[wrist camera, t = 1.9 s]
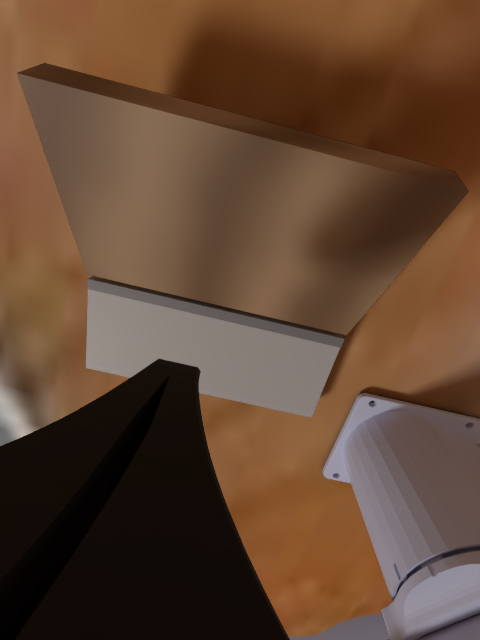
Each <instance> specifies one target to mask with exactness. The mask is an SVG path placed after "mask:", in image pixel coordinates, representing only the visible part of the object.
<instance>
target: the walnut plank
mask: <svg viewBox="0 0 480 640" xmlns="http://www.w3.org/2000/svg"><path fill="white" fill-rule="evenodd" d="M17 75H18V78H19V81H20V84H21V87H22V90H23V92H24V95H25V98H26V101H27V104H28V107H29V110H30V112H31V115H32V118H33V121H34V124H35V127H36V130H37V133H38V135H39V138H40V141H41V144H42V147H43V150H44V153H45V155H46V158H47V161H48V164H49V167H50V170H51V173H52V175H53V178H54V181H55V184H56V187H57V190H58V193H59V195H60V198H61V201H62V204H63V207H64V210H65V213H66V215H67V218H68V221H69V224H70V227H71V230H72V233H73V235H74V238H75V241H76V244H77V247H78V250H79V253H80V256H81V258H82V261H83V264H84V267H85V270H86V273H87V275H91V276H96V277H100V278H104V279H108V280H113V281H117V282H121V283H125V284H130V285H134V286H138V287H143V288H147V289H151V290H155V291H160V292H164V293H168V294H172V295H177V296H181V297H185V298H189V299H194V300H198V301H202V302H207V303H211V304H215V305H219V306H224V307H228V308H232V309H236V310H241V311H245V312H249V313H253V314H258V315H262V316H266V317H270V318H275V319H279V320H283V321H288V322H292V323H296V324H300V325H305V326H309V327H313V328H317V329H322V330H326V331H330V332H334V333H339V334H343V335H347V334H348V333H349V332H350V331H351V330H352V328H353V327H354V326H355V325H356V324H357V323H358V321H359V320H360V319H361V318H362V317H363V316H364V314H365V313H366V312H367V311H368V310H369V308H370V307H371V306H372V305H373V304H374V303H375V301H376V300H377V299H378V298H379V297H380V295H381V294H382V293H383V292H384V291H385V290H386V288H387V287H388V286H389V285H390V284H391V283H392V281H393V280H394V279H395V278H396V277H397V275H398V274H399V273H400V272H401V271H402V270H403V268H404V267H405V266H406V265H407V264H408V263H409V261H410V260H411V259H412V258H413V257H414V255H415V254H416V253H417V252H418V251H419V250H420V248H421V247H422V246H423V245H424V244H425V243H426V241H427V240H428V239H429V238H430V237H431V235H432V234H433V233H434V232H435V231H436V230H437V228H438V227H439V226H440V225H441V224H442V222H443V221H444V220H445V219H446V218H447V217H448V215H449V214H450V213H451V212H452V211H453V210H454V208H455V207H456V206H457V205H458V204H459V202H460V201H461V200H462V199H463V198H464V197H465V195H466V194H467V193H468V192H469V191H468V190H467V188H466V187H465V185H464V184H463V182H462V181H461V180H460V178H459V177H458V175H457V174H456V173H455V171H451V170H447V169H444V168H440V167H436V166H432V165H428V164H425V163H421V162H417V161H413V160H410V159H406V158H402V157H398V156H394V155H391V154H387V153H383V152H379V151H376V150H372V149H368V148H364V147H360V146H357V145H353V144H349V143H345V142H342V141H338V140H334V139H330V138H326V137H323V136H319V135H315V134H311V133H308V132H304V131H300V130H296V129H292V128H289V127H285V126H281V125H277V124H274V123H270V122H266V121H262V120H258V119H255V118H251V117H247V116H243V115H239V114H236V113H232V112H228V111H224V110H221V109H217V108H213V107H209V106H205V105H202V104H198V103H194V102H190V101H187V100H183V99H179V98H175V97H171V96H168V95H164V94H160V93H156V92H153V91H149V90H145V89H141V88H137V87H134V86H130V85H126V84H122V83H119V82H115V81H111V80H107V79H103V78H100V77H96V76H92V75H88V74H84V73H81V72H77V71H73V70H69V69H66V68H62V67H58V66H54V65H50V64H47V63H43V64H40V65H38V66H35V67H32V68H29V69H26V70H24V71H21V72H18V73H17Z"/></svg>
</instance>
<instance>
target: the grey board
mask: <svg viewBox="0 0 480 640" xmlns="http://www.w3.org/2000/svg"><path fill="white" fill-rule="evenodd" d="M87 289H88V313H87V349H86V368H89V369H93V370H98V371H102V372H107V373H111V374H116V375H120V376H125V377H130V378H131V377H132V376H134V375H135V374H137V373H138V372H140V371H141V370H143V369H144V368H145V367H147V366H148V365H150V364H151V363H153V362H154V361H156V360H158V359H163V360H168V361H172V362H177V363H181V364H186V365H190V366H194V367H198V368H199V370H200V371H201V373H200V377H199V393H202V394H207V395H211V396H216V397H220V398H225V399H229V400H234V401H238V402H243V403H248V404H252V405H257V406H261V407H266V408H270V409H275V410H279V411H284V412H288V413H293V414H297V415H302V416H307V417H312V415H313V412H314V410H315V408H316V405H317V403H318V400H319V398H320V396H321V393H322V391H323V388H324V386H325V383H326V381H327V379H328V376H329V374H330V371H331V369H332V367H333V364H334V362H335V359H336V357H337V354H338V352H339V350H340V348H341V347H342V344H343V342H344V340H345V339H344V337H343V336H342V334H339V333H334V332H330V331H326V330H322V329H317V328H313V327H309V326H305V325H300V324H296V323H292V322H288V321H283V320H279V319H275V318H270V317H266V316H262V315H258V314H253V313H249V312H245V311H241V310H236V309H232V308H228V307H224V306H219V305H215V304H211V303H207V302H202V301H198V300H194V299H189V298H185V297H181V296H177V295H172V294H168V293H164V292H160V291H155V290H151V289H147V288H143V287H138V286H134V285H130V284H125V283H121V282H117V281H113V280H108V279H104V278H100V277H96V276H93V277H91V278H88V279H87Z"/></svg>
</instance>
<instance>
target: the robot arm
mask: <svg viewBox="0 0 480 640" xmlns="http://www.w3.org/2000/svg"><path fill="white" fill-rule="evenodd" d="M200 373H201V371H200V370H199V368H198V367H194V366H190V365H186V364H181V363H177V362H172V361H168V360H163V359H158V360H156V361H154V362H153V363H151V364H150V365H148V366H147V367H145V368H144V369H143V370H141V371H140V372H138V373H137V374H135V375H134V376H132V377H131V378H129V379H128V380H126V381H125V382H123V383H122V384H120V385H119V386H117V387H115V388H114V389H112V390H111V391H109V392H108V393H106V394H104V395H103V396H101V397H99V398H98V399H96V400H94V401H92V402H91V403H89V404H87V405H85V406H84V407H82V408H80V409H78V410H77V411H75V412H73V413H71V414H69V415H67V416H65V417H63V418H62V419H60V420H58V421H56V422H54V423H52V424H49V425H47V426H45V427H43V428H41V429H39V430H37V431H35V432H33V433H30V434H28V435H26V436H24V437H22V438H19V439H17V440H14V441H12V442H10V443H7V444H5V445H2V446H0V640H290V639H289V637H288V635H287V633H286V632H285V630H284V628H283V626H282V624H281V622H280V620H279V618H278V616H277V614H276V612H275V610H274V608H273V606H272V604H271V602H270V600H269V598H268V596H267V594H266V593H265V591H264V589H263V587H262V584H261V582H260V580H259V578H258V576H257V574H256V572H255V570H254V567H253V565H252V563H251V561H250V559H249V557H248V555H247V552H246V550H245V548H244V546H243V543H242V541H241V539H240V536H239V534H238V531H237V529H236V526H235V524H234V522H233V519H232V517H231V514H230V512H229V509H228V507H227V505H226V502H225V499H224V497H223V494H222V491H221V488H220V485H219V482H218V479H217V477H216V473H215V470H214V467H213V464H212V460H211V457H210V453H209V449H208V445H207V441H206V437H205V432H204V428H203V422H202V416H201V409H200V401H199V377H200ZM370 401H374V402H373V403H369V402H370ZM467 423H468V424H467ZM335 473H336V474H335ZM323 475H324V476H325V477H326V478H329V479H333V480H338V481H343V482H348V483H351V485H352V487H353V490H354V493H355V496H356V499H357V502H358V505H359V507H360V510H361V513H362V516H363V519H364V522H365V524H366V527H367V530H368V533H369V536H370V539H371V542H372V544H373V547H374V550H375V553H376V556H377V559H378V561H379V564H380V567H381V570H382V573H383V576H384V578H385V581H386V584H387V587H388V590H389V593H390V596H391V598H392V601H393V602H392V603H391V604H389V605H388V606H386V607H384V608H383V609H382V610H381V611H382V614H383V617H384V620H385V624H386V627H387V630H388V633H389V636H390V639H388V640H480V419H479V418H474V417H470V416H465V415H461V414H457V413H452V412H448V411H443V410H439V409H434V408H430V407H426V406H421V405H417V404H412V403H408V402H404V401H399V400H395V399H390V398H386V397H381V396H377V395H373V394H368V393H362V394H360V395H358V397H357V398H356V400H355V402H354V405H353V407H352V409H351V411H350V413H349V415H348V417H347V419H346V421H345V423H344V426H343V428H342V430H341V432H340V434H339V436H338V438H337V440H336V442H335V445H334V447H333V449H332V451H331V453H330V455H329V457H328V459H327V461H326V463H325V466H324V468H323Z"/></svg>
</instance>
